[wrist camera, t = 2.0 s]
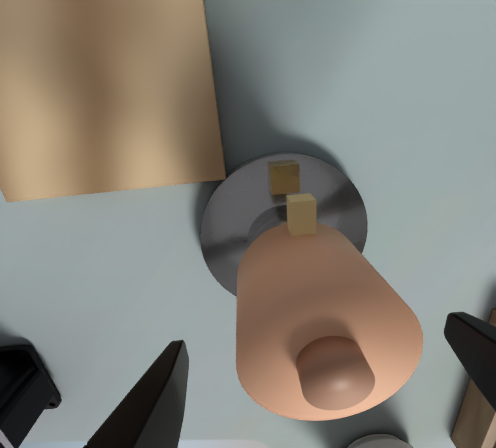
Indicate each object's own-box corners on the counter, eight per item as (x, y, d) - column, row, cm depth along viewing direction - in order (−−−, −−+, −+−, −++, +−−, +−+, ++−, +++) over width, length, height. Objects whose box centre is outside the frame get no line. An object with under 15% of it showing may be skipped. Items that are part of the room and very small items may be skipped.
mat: (21, 197, 15) (6, 202, 14) (-106, -87, 11) (-139, -107, 10) (226, 175, 15) (225, 179, 14) (188, -120, 10) (183, -143, 10)
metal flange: (214, 304, 18) (206, 366, 14) (188, 161, 15) (166, 182, 10) (355, 290, 18) (394, 347, 14) (365, 143, 15) (424, 154, 10)
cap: (246, 349, 13) (250, 478, 9) (225, 198, 10) (214, 268, 6) (354, 339, 13) (418, 462, 9) (366, 183, 10) (476, 241, 6)
